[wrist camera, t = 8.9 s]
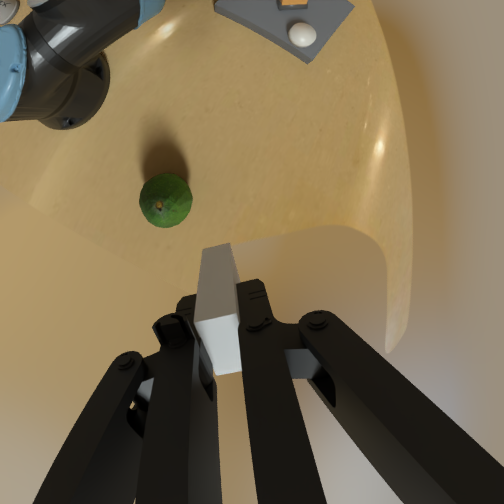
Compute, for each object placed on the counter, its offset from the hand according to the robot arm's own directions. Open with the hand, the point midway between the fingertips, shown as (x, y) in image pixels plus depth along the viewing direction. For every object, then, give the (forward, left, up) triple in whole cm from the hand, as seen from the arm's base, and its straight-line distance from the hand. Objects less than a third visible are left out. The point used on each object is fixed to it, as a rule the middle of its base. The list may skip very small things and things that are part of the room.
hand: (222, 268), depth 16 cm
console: (-8, +32, -32) cm, 46 cm away
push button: (-3, +27, -29) cm, 40 cm away
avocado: (-6, -6, -33) cm, 34 cm away
